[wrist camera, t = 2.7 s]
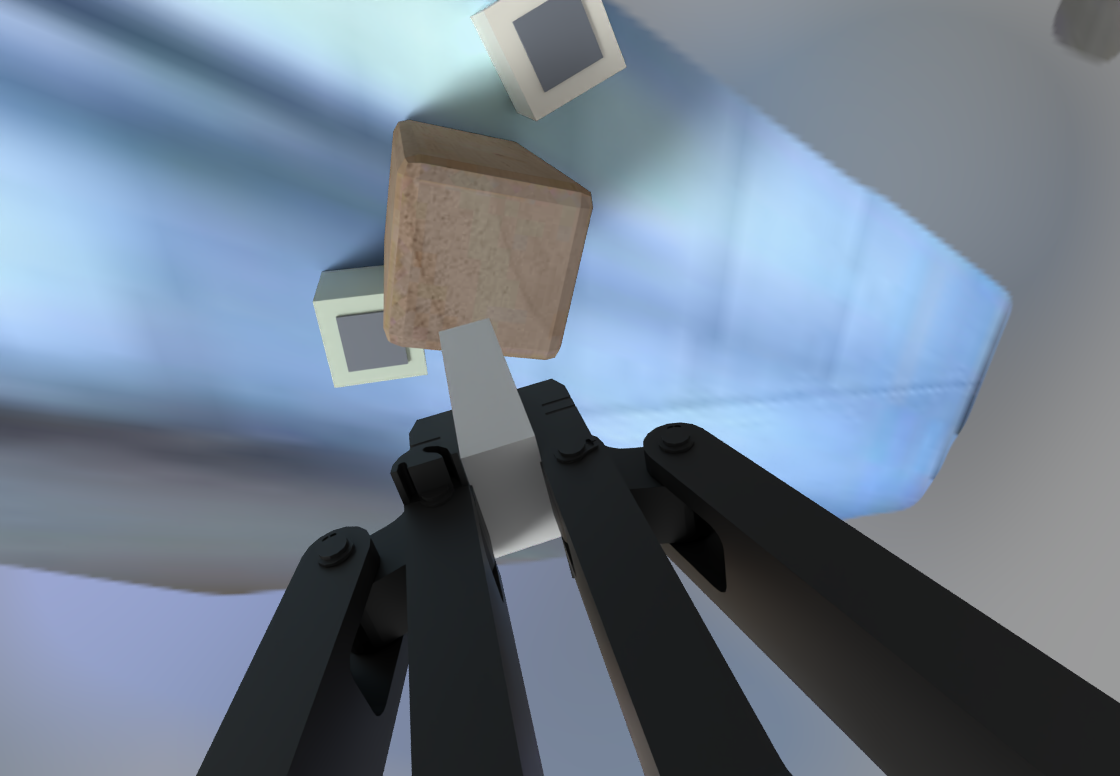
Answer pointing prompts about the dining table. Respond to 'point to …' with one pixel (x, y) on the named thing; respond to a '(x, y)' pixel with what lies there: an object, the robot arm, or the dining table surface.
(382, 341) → the sage labelled cube
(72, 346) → the dining table surface
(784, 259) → the dining table surface
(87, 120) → the dining table surface
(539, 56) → the cream labelled cube
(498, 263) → the wooden block
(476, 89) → the dining table surface
